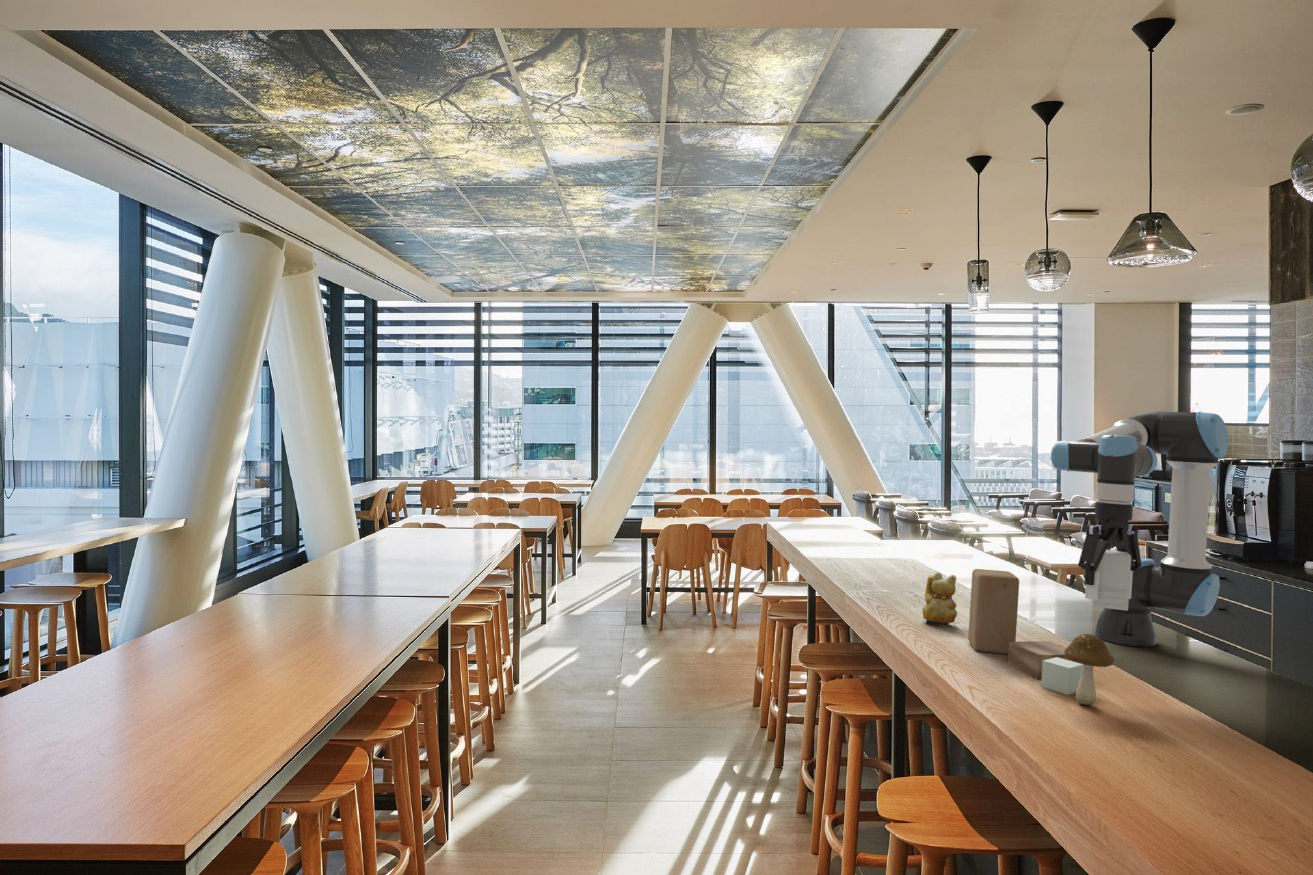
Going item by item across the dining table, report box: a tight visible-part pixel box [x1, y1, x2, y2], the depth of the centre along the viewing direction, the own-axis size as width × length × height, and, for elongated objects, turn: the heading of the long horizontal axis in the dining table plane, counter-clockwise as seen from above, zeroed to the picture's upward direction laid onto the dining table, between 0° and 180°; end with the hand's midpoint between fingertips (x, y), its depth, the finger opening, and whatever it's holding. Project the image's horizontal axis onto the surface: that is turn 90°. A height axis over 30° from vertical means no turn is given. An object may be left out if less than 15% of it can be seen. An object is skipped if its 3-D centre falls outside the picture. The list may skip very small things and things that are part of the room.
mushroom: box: [1064, 633, 1115, 706], centre depth 170 cm, size 9×11×15 cm
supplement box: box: [1088, 549, 1131, 611], centre depth 186 cm, size 7×7×13 cm
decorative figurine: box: [922, 571, 958, 627], centre depth 235 cm, size 10×8×15 cm
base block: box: [1007, 640, 1077, 681], centre depth 193 cm, size 11×11×6 cm
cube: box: [1040, 657, 1083, 696], centre depth 181 cm, size 6×6×6 cm
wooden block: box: [967, 568, 1020, 655], centre depth 211 cm, size 10×10×20 cm
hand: (1108, 598), depth 186 cm, fingers closed on supplement box, 10 cm apart
